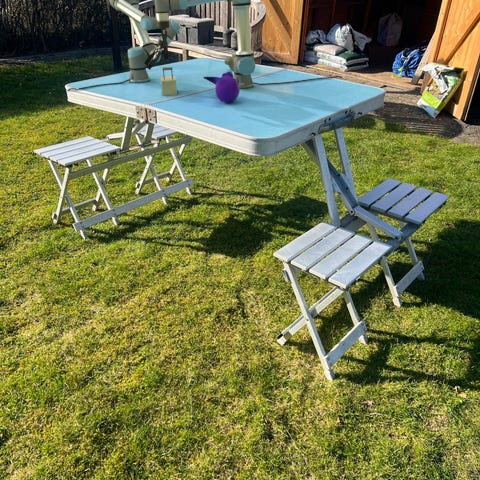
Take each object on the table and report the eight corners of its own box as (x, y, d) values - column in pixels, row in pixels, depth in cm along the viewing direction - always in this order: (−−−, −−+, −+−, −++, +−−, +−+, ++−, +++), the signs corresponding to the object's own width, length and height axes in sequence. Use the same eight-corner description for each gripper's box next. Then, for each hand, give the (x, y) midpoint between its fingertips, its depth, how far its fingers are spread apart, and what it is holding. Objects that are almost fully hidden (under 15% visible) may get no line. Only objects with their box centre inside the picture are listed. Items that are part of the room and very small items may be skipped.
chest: (177, 94, 297) (175, 81, 293) (162, 95, 296) (161, 81, 292) (176, 90, 308) (175, 77, 304) (162, 91, 307) (161, 77, 303)
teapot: (228, 72, 362) (227, 52, 355) (221, 70, 371) (220, 50, 364) (250, 69, 372) (250, 50, 364) (243, 67, 380) (243, 48, 373)
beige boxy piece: (175, 81, 292) (174, 67, 288) (161, 81, 291) (159, 68, 287) (175, 77, 304) (174, 64, 300) (161, 77, 303) (159, 65, 298)
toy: (226, 94, 295) (239, 108, 274) (200, 89, 287) (212, 104, 267) (231, 69, 287) (246, 82, 266) (206, 64, 279) (218, 77, 259)
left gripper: (171, 48, 311) (153, 73, 317) (165, 42, 331) (148, 65, 336) (162, 41, 307) (145, 67, 312) (157, 35, 327) (140, 59, 332)
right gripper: (169, 22, 266) (172, 60, 277) (168, 19, 287) (171, 54, 298) (156, 22, 265) (160, 60, 276) (156, 19, 286) (160, 54, 297)
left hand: (146, 66), depth 324 cm, fingers open, 13 cm apart
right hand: (166, 57), depth 287 cm, fingers open, 13 cm apart
